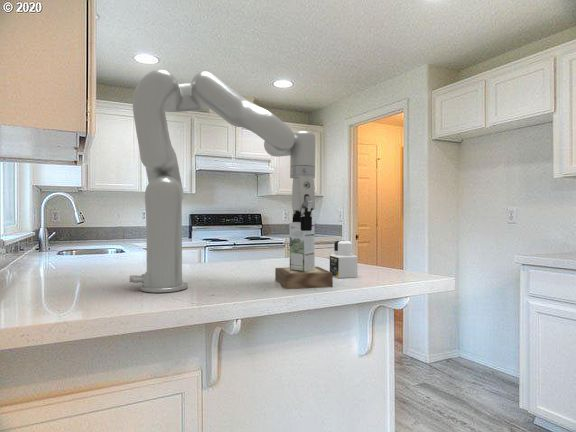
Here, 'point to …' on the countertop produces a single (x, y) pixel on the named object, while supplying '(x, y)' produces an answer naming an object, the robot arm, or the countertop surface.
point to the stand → (303, 278)
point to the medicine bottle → (343, 260)
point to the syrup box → (301, 248)
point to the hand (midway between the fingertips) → (301, 229)
